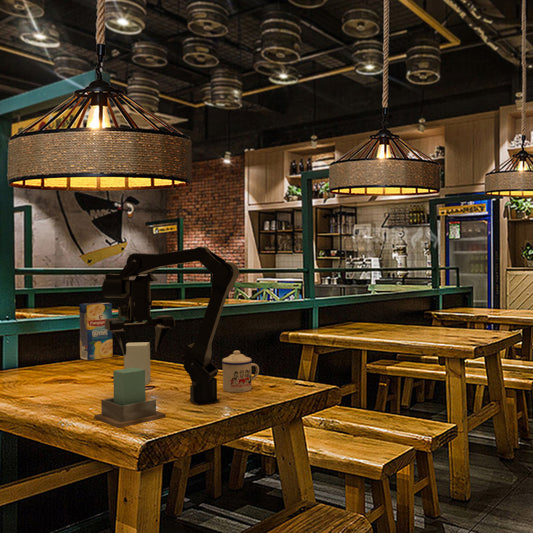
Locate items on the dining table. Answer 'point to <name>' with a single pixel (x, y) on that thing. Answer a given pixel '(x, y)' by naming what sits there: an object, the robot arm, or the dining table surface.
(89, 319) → the beverage box
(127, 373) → the teal green rectangular block
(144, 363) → the supplement box
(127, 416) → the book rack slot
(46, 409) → the dining table surface
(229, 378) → the teacup with lid
